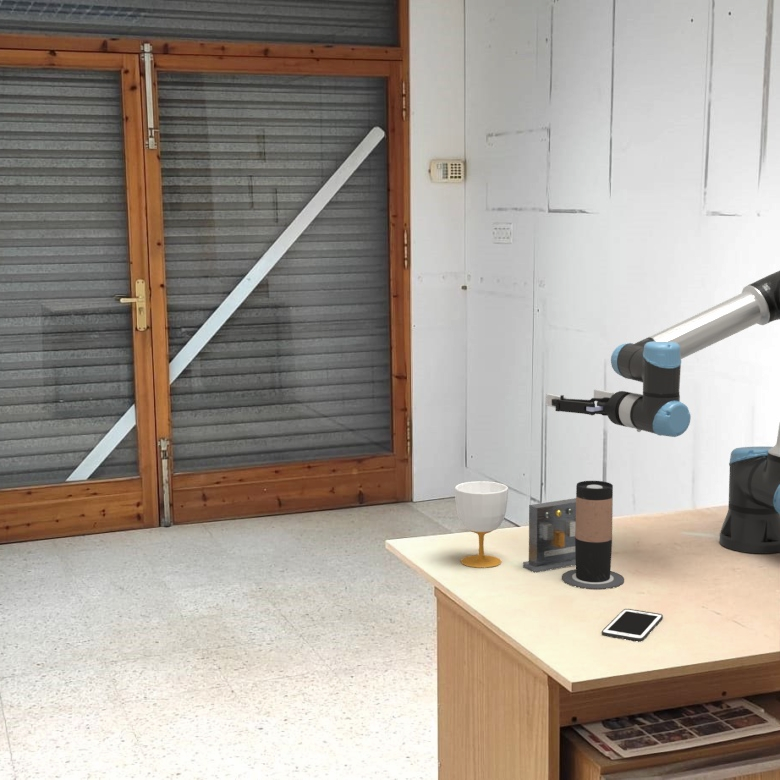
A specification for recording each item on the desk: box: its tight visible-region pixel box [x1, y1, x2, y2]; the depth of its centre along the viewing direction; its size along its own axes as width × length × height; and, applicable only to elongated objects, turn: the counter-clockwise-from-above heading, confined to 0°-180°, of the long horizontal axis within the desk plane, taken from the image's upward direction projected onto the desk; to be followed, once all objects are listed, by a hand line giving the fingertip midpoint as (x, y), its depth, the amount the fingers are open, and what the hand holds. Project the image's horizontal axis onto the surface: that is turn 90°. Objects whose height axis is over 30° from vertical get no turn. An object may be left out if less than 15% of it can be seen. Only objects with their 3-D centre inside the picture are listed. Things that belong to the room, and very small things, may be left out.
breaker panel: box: [522, 497, 576, 573], centre depth 246 cm, size 16×5×14 cm, turn 118°
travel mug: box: [575, 480, 614, 582], centre depth 236 cm, size 8×8×20 cm
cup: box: [454, 480, 509, 569], centre depth 249 cm, size 12×12×17 cm
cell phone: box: [601, 608, 664, 643], centre depth 210 cm, size 8×15×1 cm, turn 151°
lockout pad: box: [561, 568, 625, 590], centre depth 237 cm, size 13×13×1 cm
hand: (571, 397), depth 263 cm, fingers open, 13 cm apart
